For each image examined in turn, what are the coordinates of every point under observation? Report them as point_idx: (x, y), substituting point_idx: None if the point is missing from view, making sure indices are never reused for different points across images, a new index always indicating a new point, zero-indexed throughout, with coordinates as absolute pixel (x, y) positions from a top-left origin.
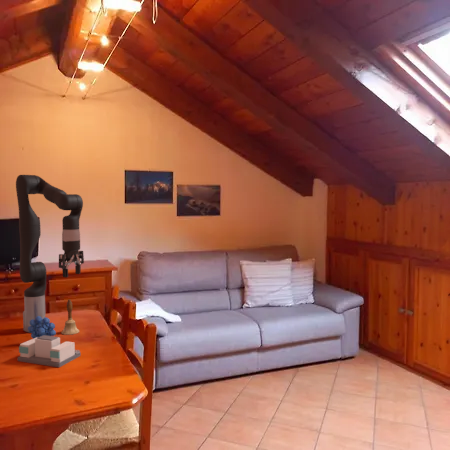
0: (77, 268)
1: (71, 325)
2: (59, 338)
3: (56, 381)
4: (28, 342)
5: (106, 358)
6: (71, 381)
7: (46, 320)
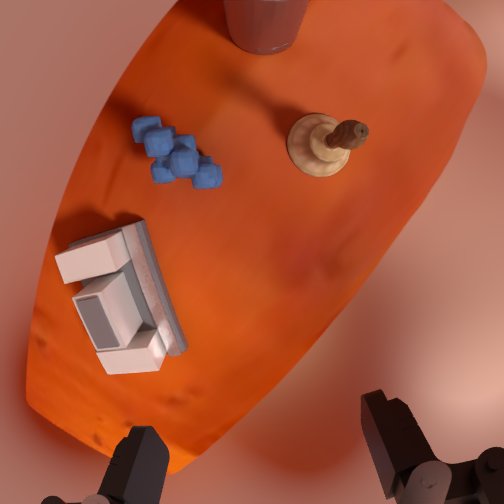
0: (381, 460)
1: (318, 160)
2: (124, 347)
3: (92, 387)
4: (72, 263)
5: (216, 397)
6: (110, 405)
7: (175, 174)
